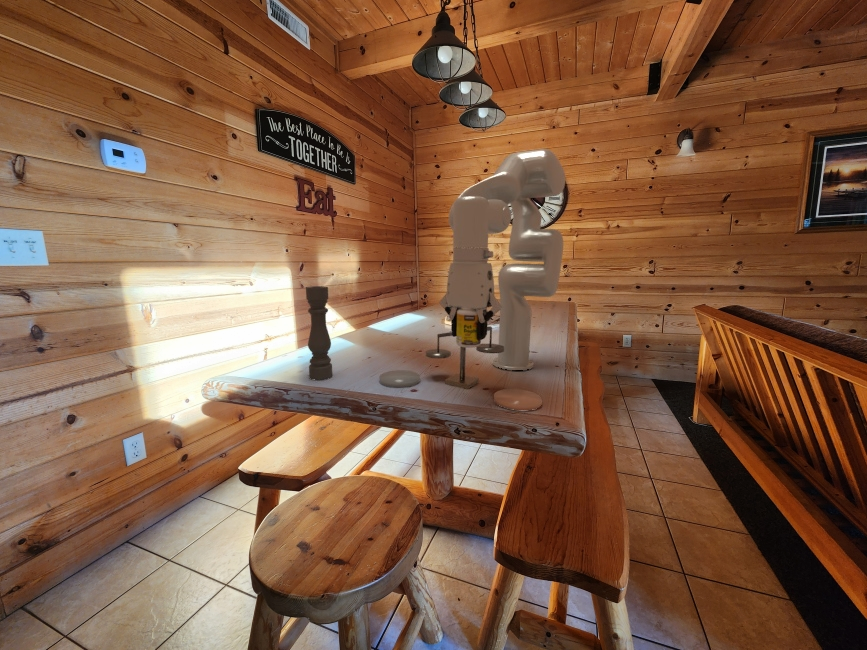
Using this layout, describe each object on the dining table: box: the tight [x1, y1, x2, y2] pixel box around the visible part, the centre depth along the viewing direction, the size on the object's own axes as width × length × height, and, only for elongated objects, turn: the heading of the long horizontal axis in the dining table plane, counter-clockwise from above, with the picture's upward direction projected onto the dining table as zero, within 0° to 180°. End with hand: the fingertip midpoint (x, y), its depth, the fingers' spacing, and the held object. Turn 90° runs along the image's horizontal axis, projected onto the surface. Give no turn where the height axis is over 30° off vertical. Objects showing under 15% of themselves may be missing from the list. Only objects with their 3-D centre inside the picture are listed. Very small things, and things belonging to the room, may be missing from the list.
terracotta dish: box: [493, 388, 543, 410], centre depth 86 cm, size 11×11×1 cm
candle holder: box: [305, 285, 333, 381], centre depth 100 cm, size 6×6×25 cm
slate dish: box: [378, 370, 421, 389], centre depth 100 cm, size 11×11×1 cm
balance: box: [425, 325, 504, 390], centre depth 97 cm, size 7×22×16 cm, turn 57°
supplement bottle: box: [455, 307, 482, 349], centre depth 83 cm, size 6×6×10 cm
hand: (468, 336), depth 84 cm, fingers closed on supplement bottle, 5 cm apart
